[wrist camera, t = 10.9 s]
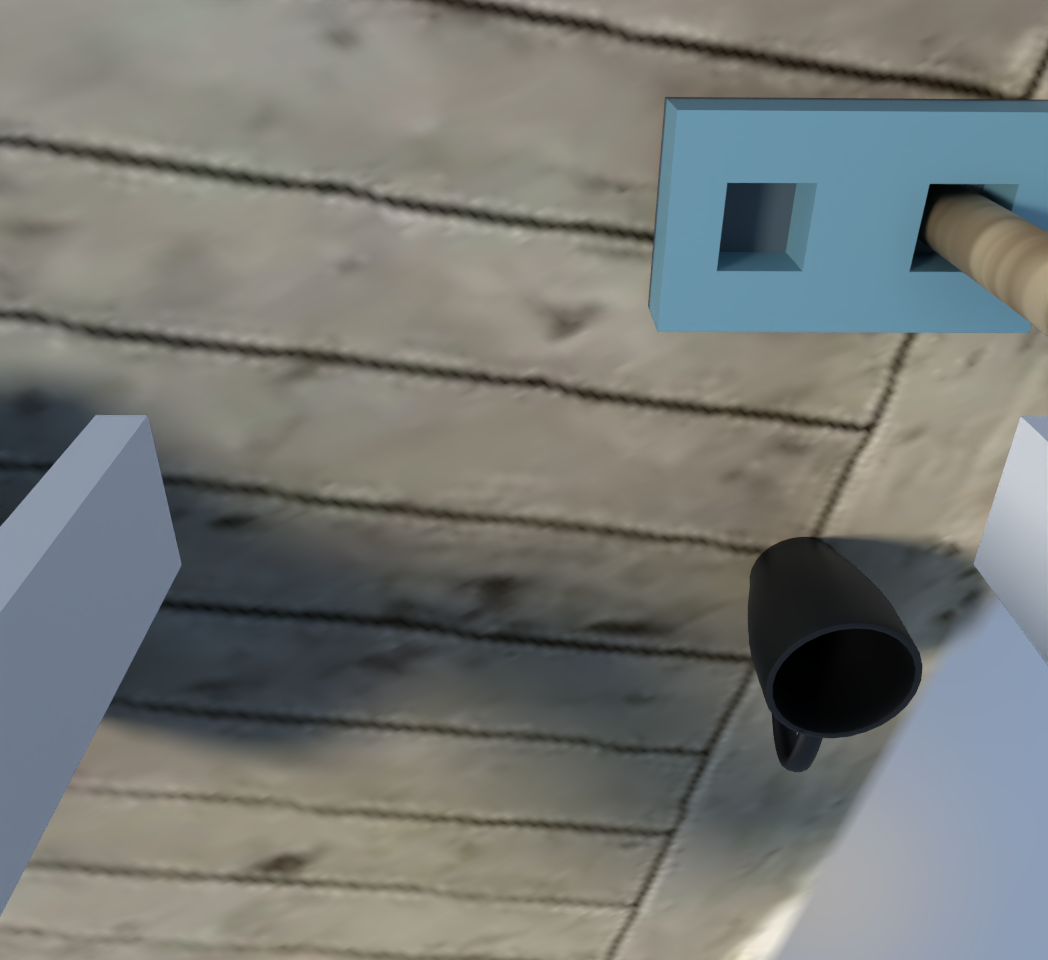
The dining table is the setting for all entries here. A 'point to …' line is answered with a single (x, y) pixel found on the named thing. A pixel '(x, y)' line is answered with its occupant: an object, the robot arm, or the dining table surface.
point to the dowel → (990, 247)
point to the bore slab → (832, 211)
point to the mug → (825, 648)
